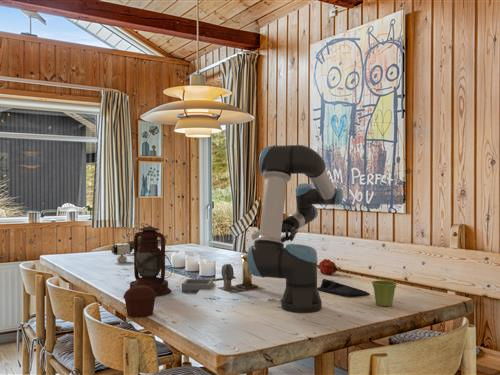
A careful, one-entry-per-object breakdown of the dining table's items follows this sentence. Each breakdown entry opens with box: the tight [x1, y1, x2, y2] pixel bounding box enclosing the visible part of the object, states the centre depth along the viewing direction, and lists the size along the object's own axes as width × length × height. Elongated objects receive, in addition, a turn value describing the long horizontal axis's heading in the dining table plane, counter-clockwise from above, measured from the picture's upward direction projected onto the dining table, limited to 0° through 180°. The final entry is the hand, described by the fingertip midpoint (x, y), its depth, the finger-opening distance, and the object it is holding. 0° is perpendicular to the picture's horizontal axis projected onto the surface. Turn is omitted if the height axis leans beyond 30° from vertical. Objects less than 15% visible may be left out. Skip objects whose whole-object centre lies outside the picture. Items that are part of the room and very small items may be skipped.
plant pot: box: [371, 279, 398, 307], centre depth 188 cm, size 9×9×9 cm
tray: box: [181, 278, 214, 293], centre depth 217 cm, size 12×12×4 cm
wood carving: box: [123, 234, 169, 250], centre depth 341 cm, size 9×35×11 cm, turn 132°
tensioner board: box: [217, 263, 266, 294], centre depth 212 cm, size 13×17×12 cm
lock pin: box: [240, 254, 253, 287], centre depth 213 cm, size 5×5×14 cm
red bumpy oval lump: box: [317, 258, 339, 276], centre depth 254 cm, size 8×8×12 cm
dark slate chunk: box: [317, 278, 370, 298], centre depth 212 cm, size 15×22×5 cm
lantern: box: [129, 222, 173, 298], centre depth 211 cm, size 19×19×30 cm
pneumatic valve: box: [110, 241, 134, 263], centre depth 296 cm, size 6×12×12 cm, turn 125°
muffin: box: [122, 285, 157, 319], centre depth 174 cm, size 12×11×10 cm
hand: (263, 240), depth 217 cm, fingers open, 13 cm apart
